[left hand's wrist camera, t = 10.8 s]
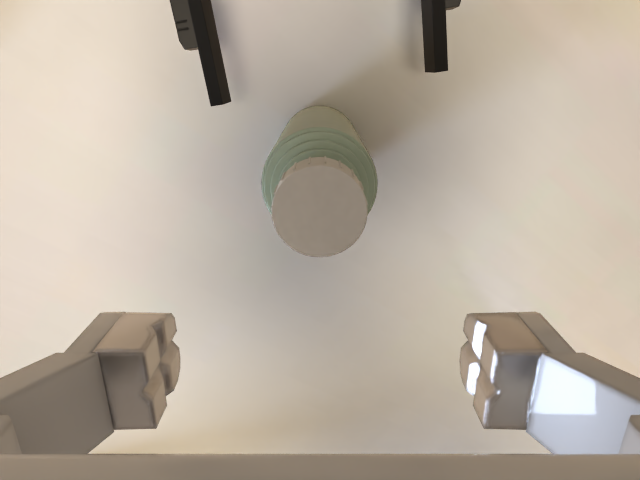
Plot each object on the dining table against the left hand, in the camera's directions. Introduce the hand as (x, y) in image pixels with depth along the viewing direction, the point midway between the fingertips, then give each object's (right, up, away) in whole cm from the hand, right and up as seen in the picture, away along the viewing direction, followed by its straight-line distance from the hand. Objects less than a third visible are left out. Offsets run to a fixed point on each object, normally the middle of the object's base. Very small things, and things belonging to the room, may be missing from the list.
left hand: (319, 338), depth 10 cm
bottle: (0, +10, +26) cm, 28 cm away
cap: (0, +3, +9) cm, 10 cm away
